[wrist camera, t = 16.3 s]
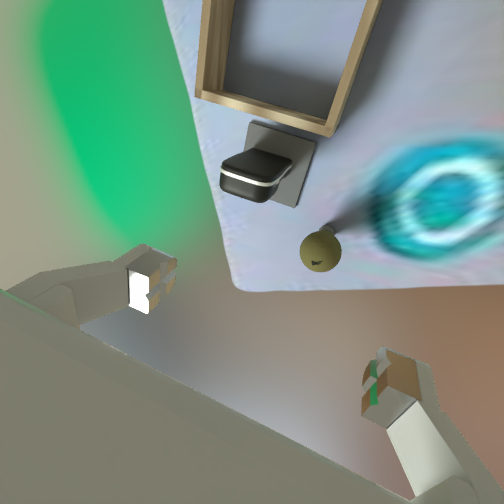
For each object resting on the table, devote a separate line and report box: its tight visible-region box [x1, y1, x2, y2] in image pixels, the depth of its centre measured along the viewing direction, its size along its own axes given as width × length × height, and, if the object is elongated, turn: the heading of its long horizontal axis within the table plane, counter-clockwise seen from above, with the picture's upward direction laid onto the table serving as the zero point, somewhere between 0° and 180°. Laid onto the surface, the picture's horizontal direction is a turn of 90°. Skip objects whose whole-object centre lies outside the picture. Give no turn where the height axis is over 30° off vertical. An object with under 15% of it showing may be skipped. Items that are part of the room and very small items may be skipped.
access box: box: [194, 0, 383, 137], centre depth 32 cm, size 18×16×6 cm
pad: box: [244, 122, 316, 208], centre depth 42 cm, size 10×10×1 cm
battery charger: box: [220, 148, 292, 203], centre depth 38 cm, size 7×4×11 cm, turn 79°
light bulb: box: [300, 225, 342, 272], centre depth 41 cm, size 6×6×10 cm
